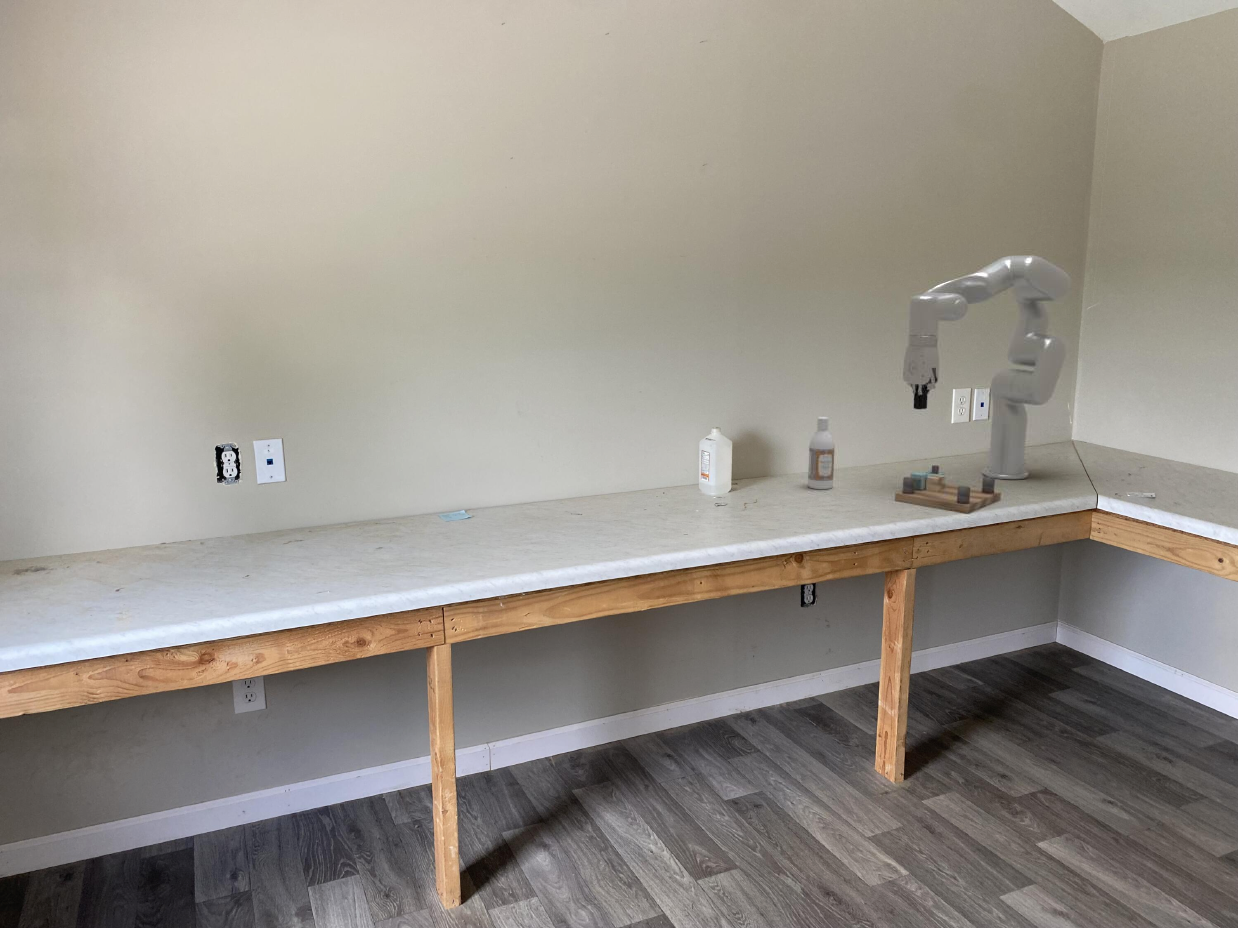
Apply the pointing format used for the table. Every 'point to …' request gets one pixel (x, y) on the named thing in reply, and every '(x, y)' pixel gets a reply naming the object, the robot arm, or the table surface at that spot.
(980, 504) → the stool seat
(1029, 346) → the robot arm
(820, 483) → the bath foam
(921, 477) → the leg
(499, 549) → the table surface
